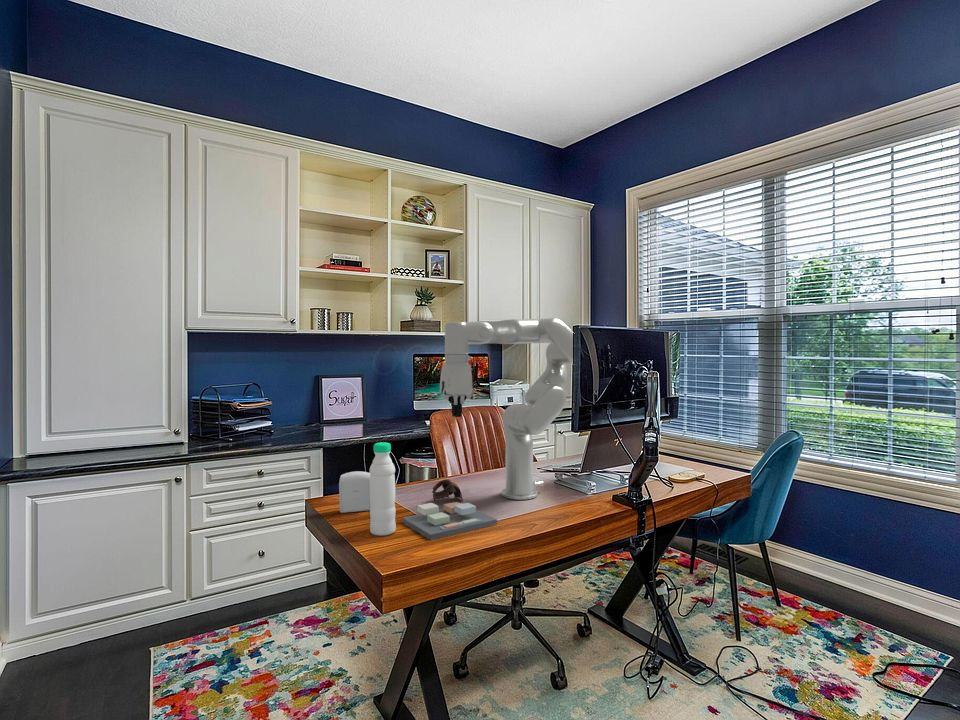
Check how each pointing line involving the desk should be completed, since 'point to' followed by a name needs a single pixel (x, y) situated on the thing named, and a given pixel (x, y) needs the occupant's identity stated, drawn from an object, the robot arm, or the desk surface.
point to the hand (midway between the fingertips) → (456, 416)
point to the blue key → (464, 508)
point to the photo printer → (354, 492)
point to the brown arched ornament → (446, 490)
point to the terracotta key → (450, 507)
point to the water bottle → (382, 491)
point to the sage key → (438, 518)
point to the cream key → (427, 508)
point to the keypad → (449, 524)
